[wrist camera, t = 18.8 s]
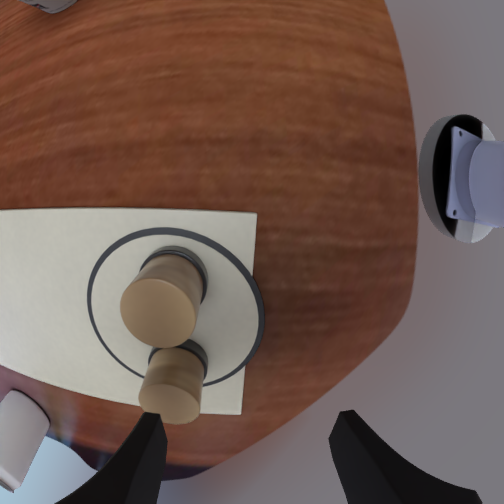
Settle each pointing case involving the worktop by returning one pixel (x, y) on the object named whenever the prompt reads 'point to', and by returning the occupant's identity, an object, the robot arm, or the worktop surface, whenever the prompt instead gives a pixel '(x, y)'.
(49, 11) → the coffee cup
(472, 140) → the robot arm
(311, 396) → the worktop surface
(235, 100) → the worktop surface
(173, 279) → the stamp
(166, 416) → the stamp
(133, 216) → the paper
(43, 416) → the can
